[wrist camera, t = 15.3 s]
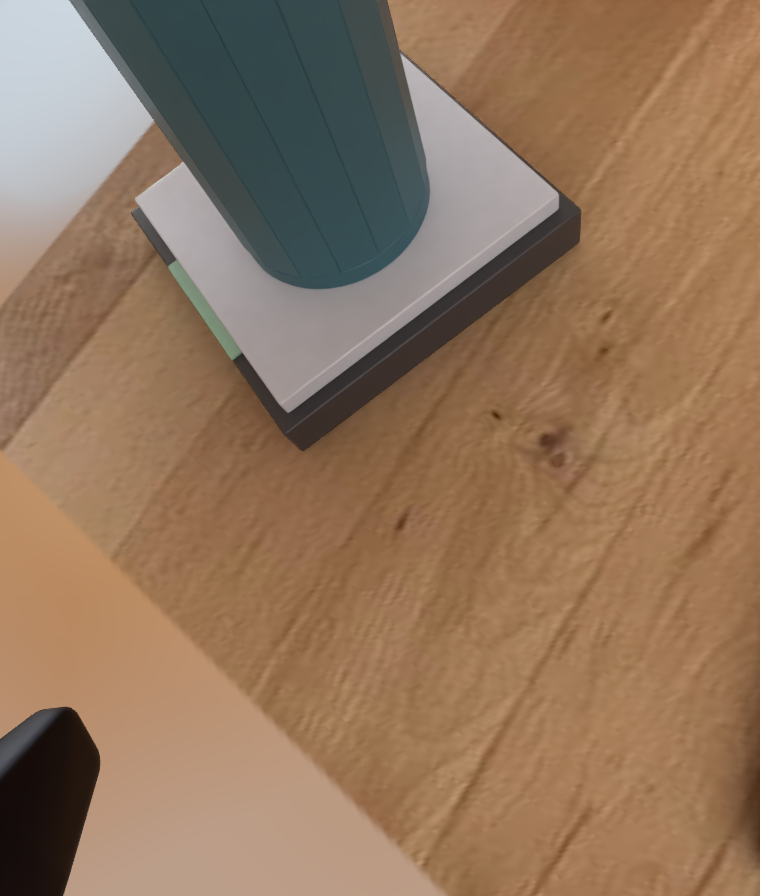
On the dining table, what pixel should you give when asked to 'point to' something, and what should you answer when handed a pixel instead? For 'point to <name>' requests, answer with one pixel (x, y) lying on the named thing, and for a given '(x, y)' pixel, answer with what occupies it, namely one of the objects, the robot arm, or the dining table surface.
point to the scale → (379, 296)
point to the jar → (283, 123)
